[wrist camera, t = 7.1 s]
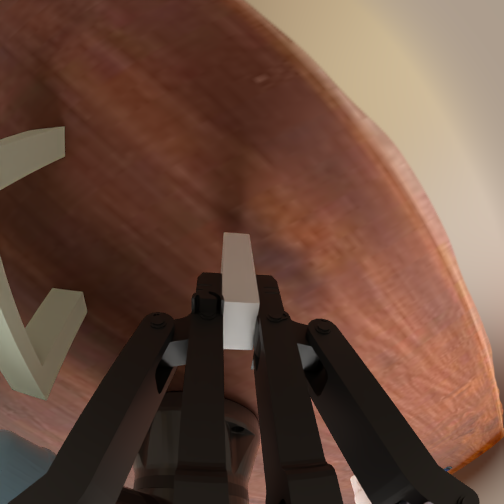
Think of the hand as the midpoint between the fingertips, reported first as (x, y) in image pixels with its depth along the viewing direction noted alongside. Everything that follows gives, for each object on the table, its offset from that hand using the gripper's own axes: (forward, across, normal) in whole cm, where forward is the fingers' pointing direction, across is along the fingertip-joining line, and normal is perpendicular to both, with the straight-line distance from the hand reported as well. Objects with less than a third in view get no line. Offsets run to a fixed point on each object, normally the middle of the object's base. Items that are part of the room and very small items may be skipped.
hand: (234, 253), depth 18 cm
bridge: (+2, +13, 0) cm, 13 cm away
